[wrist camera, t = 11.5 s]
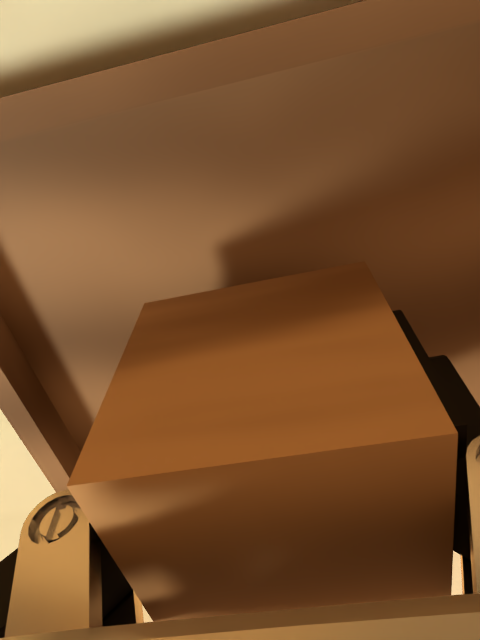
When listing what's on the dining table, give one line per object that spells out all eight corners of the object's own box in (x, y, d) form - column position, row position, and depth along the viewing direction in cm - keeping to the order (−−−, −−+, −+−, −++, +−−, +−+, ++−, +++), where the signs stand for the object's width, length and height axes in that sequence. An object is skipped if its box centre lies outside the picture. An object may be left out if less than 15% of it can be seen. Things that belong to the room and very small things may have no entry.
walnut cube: (144, 303, 11) (66, 486, 6) (364, 261, 10) (458, 433, 6) (201, 452, 14) (175, 656, 9) (378, 427, 13) (449, 635, 8)
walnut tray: (-103, 128, 12) (-176, 144, 10) (599, -58, 10) (692, -87, 8) (108, 494, 20) (92, 546, 18) (524, 440, 18) (560, 492, 15)
